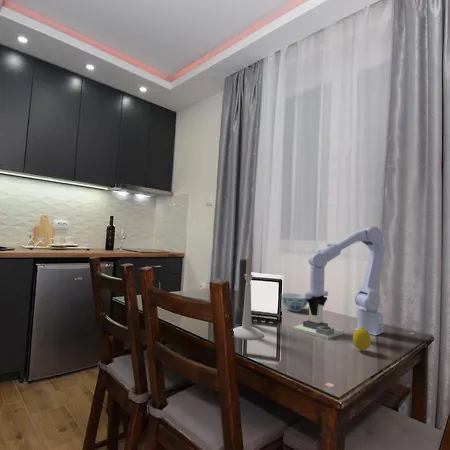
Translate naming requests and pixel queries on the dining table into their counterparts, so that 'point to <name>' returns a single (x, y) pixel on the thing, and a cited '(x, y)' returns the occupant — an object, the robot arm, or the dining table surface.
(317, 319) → the plug
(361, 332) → the lemon
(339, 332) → the board
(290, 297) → the chinaware
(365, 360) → the dining table surface
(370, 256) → the robot arm
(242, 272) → the flashlight
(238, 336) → the candlestick
